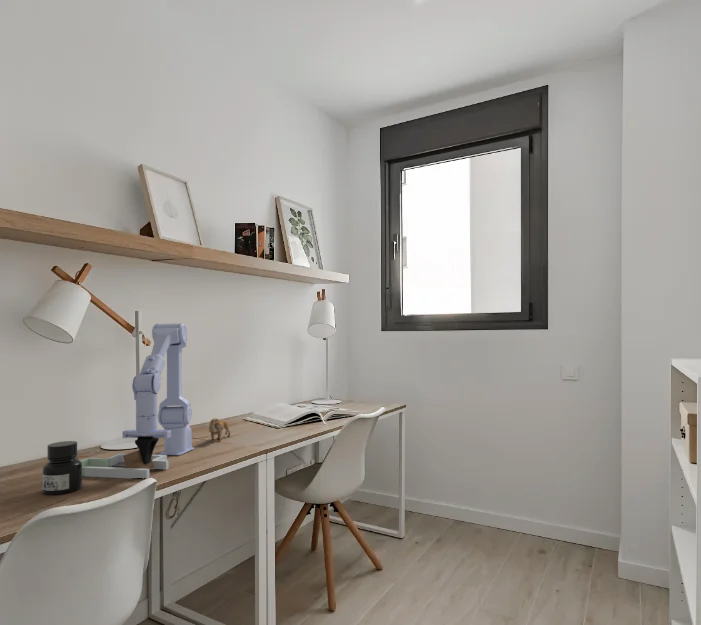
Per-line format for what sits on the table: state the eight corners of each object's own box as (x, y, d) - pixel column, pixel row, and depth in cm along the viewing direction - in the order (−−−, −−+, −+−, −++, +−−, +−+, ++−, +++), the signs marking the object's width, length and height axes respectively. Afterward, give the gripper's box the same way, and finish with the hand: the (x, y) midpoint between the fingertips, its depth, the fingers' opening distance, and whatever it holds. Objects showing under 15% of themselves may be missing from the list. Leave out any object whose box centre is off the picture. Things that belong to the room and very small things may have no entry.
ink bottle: (33, 493, 127) (33, 446, 128) (64, 483, 135) (64, 439, 136) (60, 497, 124) (60, 448, 124) (90, 486, 132) (90, 441, 132)
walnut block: (140, 471, 146) (135, 451, 147) (154, 467, 145) (148, 447, 146) (128, 476, 141) (123, 455, 142) (142, 472, 140) (137, 451, 141)
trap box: (102, 460, 159) (102, 453, 160) (179, 463, 153) (179, 455, 153) (62, 475, 144) (62, 466, 144) (146, 479, 137) (146, 470, 137)
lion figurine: (220, 444, 180) (220, 419, 180) (206, 444, 180) (206, 419, 180) (232, 435, 194) (231, 412, 195) (218, 435, 195) (218, 412, 195)
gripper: (115, 417, 141) (115, 466, 140) (160, 417, 138) (161, 467, 137) (131, 414, 148) (131, 460, 147) (175, 414, 145) (175, 461, 144)
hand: (146, 463), depth 143 cm, fingers closed, pressing on walnut block
